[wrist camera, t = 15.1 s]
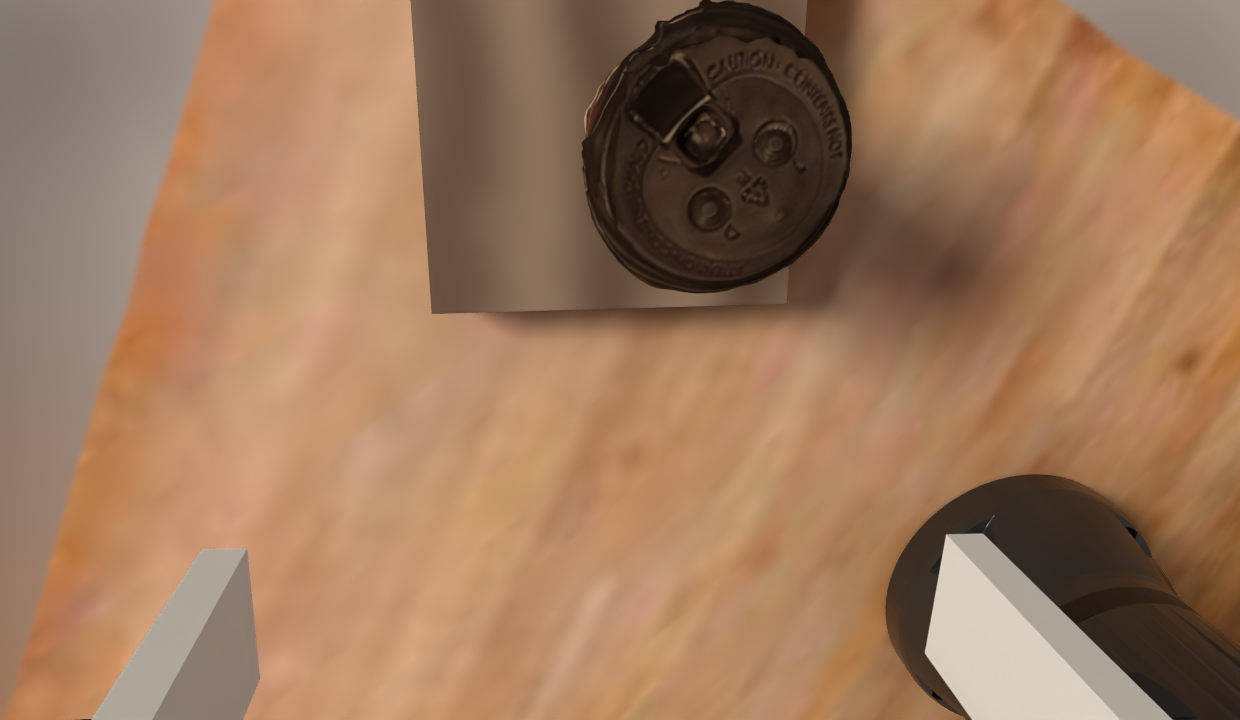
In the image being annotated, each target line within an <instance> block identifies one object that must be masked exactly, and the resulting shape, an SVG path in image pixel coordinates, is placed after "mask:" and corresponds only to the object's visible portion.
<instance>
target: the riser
mask: <svg viewBox="0 0 1240 720" xmlns="http://www.w3.org/2000/svg"><path fill="white" fill-rule="evenodd" d="M700 1H702V0H411V12H412V27H413V42H414V57H415V72H416V87H417V102H418V116H419V131H420V146H421V161H422V176H423V191H424V206H425V220H426V235H427V250H428V265H429V280H430V295H431V309H432V314H444V313H479V312H514V311H549V310H584V309H619V308H654V307H690V306H725V305H760V304H787V291H788V277H789V266H788V267H785V268H783V269H781V270H780V271H778V272H776V273H775V274H773V275H771V276H769V277H767V278H765V279H763V280H761V281H759V282H757V283H755V284H751V285H746V286H741V287H737V288H734V289H731V290H728V291H724V292H717V293H705V294H696V293H687V292H679V291H674V290H666V289H658V288H654V287H652V286H649V285H647V284H646V283H644V282H642V281H641V280H639V279H637V278H636V277H634V276H633V275H632V274H631V273H630V272H629V271H628V270H627V269H625V268H624V267H623V266H622V265H621V264H620V263H619V262H618V261H617V259H616V258H615V256H614V255H613V254H612V252H610V251H609V249H608V248H607V246H606V244H605V242H604V241H603V240H602V238H601V236H600V234H599V233H598V231H597V228H596V227H595V225H594V222H593V220H592V218H591V213H590V208H589V206H588V201H587V198H586V194H585V192H586V191H587V190H586V188H585V185H584V177H583V172H582V167H583V160H582V155H581V152H582V149H583V147H582V142H583V141H584V139H585V138H586V132H585V126H584V117H585V113H586V110H587V109H588V108H589V106H590V104H591V103H592V101H593V99H594V98H595V96H596V93H597V90H598V88H599V86H600V85H601V84H602V83H603V82H604V81H605V80H606V78H607V76H608V75H609V73H610V72H611V71H612V70H613V69H614V68H616V67H617V66H618V65H619V64H620V63H621V62H622V61H623V60H624V59H625V58H626V57H627V55H628V54H630V53H631V52H632V51H633V50H635V49H637V48H638V47H640V46H641V45H642V44H644V43H645V42H646V41H647V40H648V39H649V38H650V37H651V36H652V35H653V34H654V32H655V25H656V23H657V21H669V20H671V19H672V18H673V17H675V16H677V15H679V14H682V13H684V12H685V11H686V10H689V9H694V8H696V7H698V6H699V2H700ZM711 1H712V2H721V1H725V0H711ZM733 1H736V2H742V3H749V4H751V5H754V6H759V7H762V8H764V9H766V10H769V11H771V12H773V13H776V14H778V15H781V16H782V17H783V18H784V19H786V20H787V21H789V22H790V23H792V24H793V25H794V26H795V27H796V28H797V29H799V30H800V32H801V33H802V34H803V35H804V36H805V28H806V13H807V0H733Z"/></svg>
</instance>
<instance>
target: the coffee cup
mask: <svg viewBox="0 0 1240 720" xmlns="http://www.w3.org/2000/svg"><path fill="white" fill-rule="evenodd" d="M584 126H585V132H586V138H585V139H584V141H583V142H582V147H583V149H582V152H581V155H582V160H583V167H582V172H583V177H584V185H585V188H586V190H587V191H586V192H585V194H586V198H587V201H588V206H589V208H590V213H591V218H592V220H593V222H594V225H595V227H596V228H597V231H598V233H599V234H600V236H601V238H602V240H603V241H604V242H605V244H606V246H607V248H608V249H609V251H610V252H612V254H613V255H614V256H615V258H616V259H617V261H618V262H619V263H620V264H621V265H622V266H623V267H624V268H625V269H627V270H628V271H629V272H630V273H631V274H632V275H633V276H634V277H636V278H637V279H639V280H641V281H642V282H644V283H646V284H647V285H649V286H652V287H654V288H658V289H666V290H674V291H679V292H687V293H696V294H705V293H717V292H724V291H728V290H731V289H734V288H737V287H741V286H746V285H751V284H755V283H757V282H759V281H761V280H763V279H765V278H767V277H769V276H771V275H773V274H775V273H776V272H778V271H780V270H781V269H783V268H785V267H788V266H789V265H791V264H792V263H794V262H795V261H796V260H797V259H798V258H799V257H800V256H801V255H802V254H803V253H804V252H805V251H806V250H808V249H809V248H810V247H811V246H812V245H813V244H814V243H815V242H816V241H817V240H818V239H819V238H820V236H821V235H822V234H823V232H824V231H825V229H826V228H827V226H828V225H829V223H830V221H831V219H832V217H833V215H834V213H835V211H836V210H837V207H838V205H839V200H840V197H841V194H842V193H843V191H844V189H845V186H846V182H847V179H848V177H849V171H850V158H851V151H852V131H851V123H850V116H849V113H848V110H847V107H846V103H845V101H844V99H843V97H842V95H841V93H840V91H839V89H838V86H837V84H836V82H835V79H834V77H833V74H832V73H831V71H830V70H829V68H828V66H827V64H826V62H825V60H824V57H823V55H822V53H821V52H820V51H819V49H818V47H817V46H815V45H814V44H813V43H812V42H811V41H809V40H808V39H807V38H806V37H805V36H804V35H803V34H802V33H801V32H800V30H799V29H797V28H796V27H795V26H794V25H793V24H792V23H790V22H789V21H787V20H786V19H784V18H783V17H782V16H781V15H778V14H776V13H773V12H771V11H769V10H766V9H764V8H762V7H759V6H754V5H751V4H749V3H742V2H736V1H733V0H725V1H721V2H712V1H711V0H702V1H700V2H699V6H698V7H696V8H694V9H689V10H686V11H685V12H684V13H682V14H679V15H677V16H675V17H673V18H672V19H671V20H669V21H657V23H656V25H655V32H654V34H653V35H652V36H651V37H650V38H649V39H648V40H647V41H646V42H645V43H644V44H642V45H641V46H640V47H638V48H637V49H635V50H633V51H632V52H631V53H630V54H628V55H627V57H626V58H625V59H624V60H623V61H622V62H621V63H620V64H619V65H618V66H617V67H616V68H614V69H613V70H612V71H611V72H610V73H609V75H608V76H607V78H606V80H605V81H604V82H603V83H602V84H601V85H600V86H599V88H598V90H597V93H596V96H595V98H594V99H593V101H592V103H591V104H590V106H589V108H588V109H587V110H586V113H585V117H584Z"/></svg>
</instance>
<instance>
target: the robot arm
mask: <svg viewBox="0 0 1240 720" xmlns="http://www.w3.org/2000/svg"><path fill="white" fill-rule="evenodd" d="M886 623H887V629H888V633H889V637H890V640H891V642H892V645H893V647H894V649H895V651H896V653H897V654H898V656H899V658H900V659H901V661H902V662H903V664H904V665H905V667H906V668H907V670H908V671H909V673H910V674H911V676H912V677H913V679H914V680H915V681H916V683H917V684H918V685H919V686H920V687H921V688H922V689H923V690H924V691H925V692H926V693H927V694H928V695H929V696H930V697H931V698H932V699H934V700H935V701H936V702H937V703H939V704H940V705H942V706H943V707H945V708H947V709H948V710H950V711H952V712H954V713H956V714H959V715H961V716H963V717H964V718H965V720H1240V647H1239V646H1238V645H1237V644H1235V643H1234V642H1233V641H1232V640H1230V639H1229V638H1228V637H1227V636H1225V635H1224V634H1223V633H1221V632H1220V631H1219V630H1218V629H1216V628H1215V627H1214V626H1212V625H1211V624H1210V623H1209V622H1207V621H1206V620H1205V619H1204V618H1202V617H1201V616H1200V615H1199V614H1197V613H1196V612H1195V611H1194V610H1192V609H1191V608H1190V607H1189V606H1187V605H1186V604H1185V603H1183V602H1182V601H1181V600H1180V599H1179V597H1178V596H1177V594H1176V592H1175V591H1174V589H1173V587H1172V586H1171V584H1170V582H1169V581H1168V579H1167V577H1166V576H1165V574H1164V573H1163V571H1162V569H1161V568H1160V567H1159V565H1158V564H1157V563H1156V561H1155V560H1154V559H1153V558H1152V556H1151V553H1150V550H1149V548H1148V546H1147V544H1146V542H1145V541H1144V539H1143V537H1142V536H1141V534H1140V532H1139V531H1138V530H1137V528H1136V527H1135V526H1134V525H1133V523H1132V522H1131V521H1130V520H1129V519H1128V518H1127V517H1126V516H1125V515H1124V514H1123V513H1122V512H1121V511H1119V510H1118V509H1117V508H1115V507H1114V506H1113V505H1111V504H1110V503H1109V502H1107V501H1106V500H1105V499H1103V498H1102V497H1101V496H1099V495H1098V494H1096V493H1095V492H1094V491H1092V490H1090V489H1089V488H1087V487H1085V486H1083V485H1081V484H1079V483H1077V482H1074V481H1071V480H1068V479H1065V478H1061V477H1056V476H1049V475H1022V476H1014V477H1008V478H1004V479H1000V480H996V481H993V482H990V483H987V484H984V485H982V486H979V487H977V488H975V489H972V490H970V491H968V492H967V493H965V494H963V495H961V496H959V497H958V498H956V499H954V500H953V501H951V502H950V503H948V504H947V505H945V506H944V507H943V508H942V509H940V510H939V511H938V512H937V513H935V514H934V515H933V516H932V517H931V518H930V519H929V520H928V521H927V522H926V523H925V524H924V525H923V526H922V527H921V528H920V529H919V530H918V531H917V533H916V534H915V535H914V536H913V538H912V539H911V540H910V542H909V543H908V545H907V546H906V548H905V549H904V551H903V553H902V554H901V556H900V558H899V560H898V562H897V564H896V566H895V569H894V571H893V574H892V577H891V580H890V583H889V587H888V592H887V598H886ZM259 679H260V674H259V664H258V654H257V644H256V634H255V624H254V613H253V603H252V593H251V583H250V573H249V563H248V553H247V548H241V549H202V550H201V551H200V553H199V554H198V556H197V557H196V559H195V560H194V562H193V563H192V565H191V567H190V568H189V570H188V571H187V573H186V574H185V576H184V577H183V579H182V580H181V582H180V584H179V585H178V587H177V588H176V590H175V591H174V593H173V594H172V596H171V597H170V599H169V601H168V602H167V604H166V605H165V607H164V608H163V610H162V611H161V613H160V614H159V616H158V618H157V619H156V621H155V622H154V624H153V625H152V627H151V628H150V630H149V631H148V633H147V635H146V636H145V638H144V639H143V641H142V642H141V644H140V645H139V647H138V648H137V650H136V652H135V653H134V655H133V656H132V658H131V659H130V661H129V662H128V664H127V665H126V667H125V669H124V670H123V672H122V673H121V675H120V676H119V678H118V679H117V681H116V682H115V684H114V686H113V687H112V689H111V690H110V692H109V693H108V695H107V696H106V698H105V699H104V701H103V703H102V704H101V706H100V707H99V709H98V710H97V712H96V713H95V715H94V716H93V718H92V719H82V720H243V718H244V716H245V713H246V711H247V708H248V706H249V704H250V701H251V699H252V696H253V694H254V692H255V689H256V687H257V684H258V682H259Z"/></svg>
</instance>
